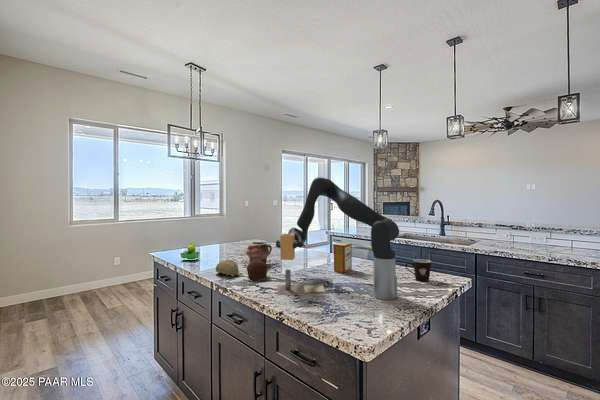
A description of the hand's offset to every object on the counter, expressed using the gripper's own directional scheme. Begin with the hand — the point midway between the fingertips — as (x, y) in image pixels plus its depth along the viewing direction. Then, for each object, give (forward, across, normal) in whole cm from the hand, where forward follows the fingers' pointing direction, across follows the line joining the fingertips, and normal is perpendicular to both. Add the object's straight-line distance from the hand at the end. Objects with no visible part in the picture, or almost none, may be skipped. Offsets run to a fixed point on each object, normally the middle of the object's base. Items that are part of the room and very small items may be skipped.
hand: (286, 246), depth 136 cm
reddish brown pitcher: (-56, -28, +22) cm, 66 cm away
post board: (-4, +6, +22) cm, 23 cm away
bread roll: (-30, -40, +22) cm, 54 cm away
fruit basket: (-64, -79, +22) cm, 104 cm away
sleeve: (-3, 0, +6) cm, 7 cm away
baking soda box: (-45, +25, +22) cm, 56 cm away
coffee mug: (-30, +64, +22) cm, 74 cm away
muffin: (-21, -20, +22) cm, 36 cm away
